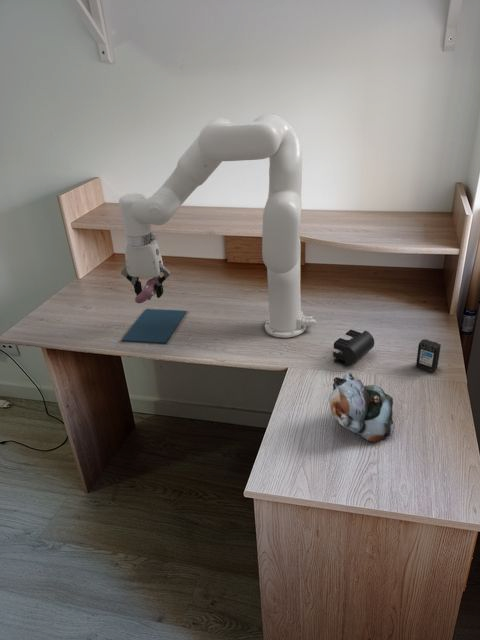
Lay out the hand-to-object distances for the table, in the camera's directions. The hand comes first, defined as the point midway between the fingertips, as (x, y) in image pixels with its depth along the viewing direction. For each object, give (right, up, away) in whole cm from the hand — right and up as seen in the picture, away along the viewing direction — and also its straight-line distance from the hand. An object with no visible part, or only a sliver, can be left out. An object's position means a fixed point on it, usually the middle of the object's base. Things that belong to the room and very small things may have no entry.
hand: (149, 295), depth 157 cm
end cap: (+59, -19, -15) cm, 64 cm away
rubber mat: (+1, -9, +6) cm, 11 cm away
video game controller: (0, -1, 0) cm, 1 cm away
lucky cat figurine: (+57, -34, -39) cm, 77 cm away
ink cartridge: (+77, -22, -21) cm, 83 cm away
